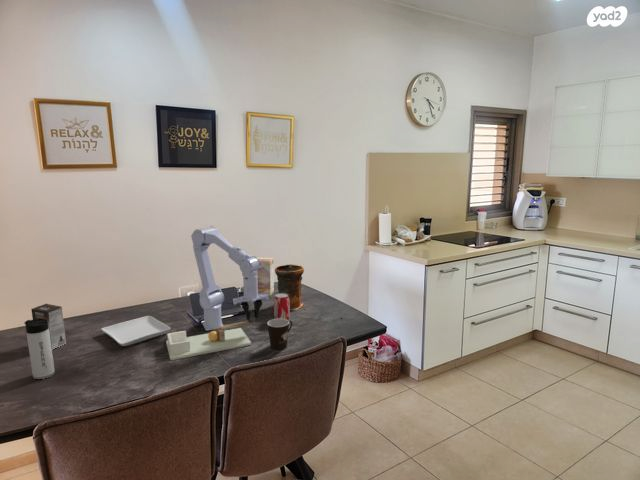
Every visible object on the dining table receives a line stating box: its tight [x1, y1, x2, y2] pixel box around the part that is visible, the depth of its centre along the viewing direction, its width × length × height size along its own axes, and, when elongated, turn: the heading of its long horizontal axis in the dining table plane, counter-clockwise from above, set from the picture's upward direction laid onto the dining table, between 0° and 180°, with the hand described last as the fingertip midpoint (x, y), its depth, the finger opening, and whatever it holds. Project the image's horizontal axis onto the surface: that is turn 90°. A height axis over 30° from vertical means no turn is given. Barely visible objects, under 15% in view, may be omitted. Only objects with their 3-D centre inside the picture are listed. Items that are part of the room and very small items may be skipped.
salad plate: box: [100, 315, 171, 347], centre depth 175 cm, size 21×21×3 cm
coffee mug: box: [266, 318, 293, 351], centre depth 164 cm, size 12×9×10 cm
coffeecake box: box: [256, 256, 275, 296], centre depth 227 cm, size 15×7×20 cm, turn 80°
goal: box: [166, 330, 190, 355], centre depth 161 cm, size 11×7×4 cm, turn 25°
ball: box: [208, 330, 218, 341], centre depth 167 cm, size 4×4×4 cm
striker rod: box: [216, 309, 257, 341], centre depth 170 cm, size 5×16×10 cm, turn 115°
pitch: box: [165, 327, 252, 361], centre depth 166 cm, size 16×30×1 cm, turn 115°
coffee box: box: [31, 303, 67, 351], centre depth 163 cm, size 9×6×16 cm
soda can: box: [273, 293, 291, 321], centre depth 190 cm, size 7×7×12 cm
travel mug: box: [24, 318, 55, 380], centre depth 140 cm, size 6×7×20 cm
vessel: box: [274, 263, 305, 311], centre depth 207 cm, size 14×14×20 cm
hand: (251, 318), depth 172 cm, fingers closed on striker rod, 3 cm apart
